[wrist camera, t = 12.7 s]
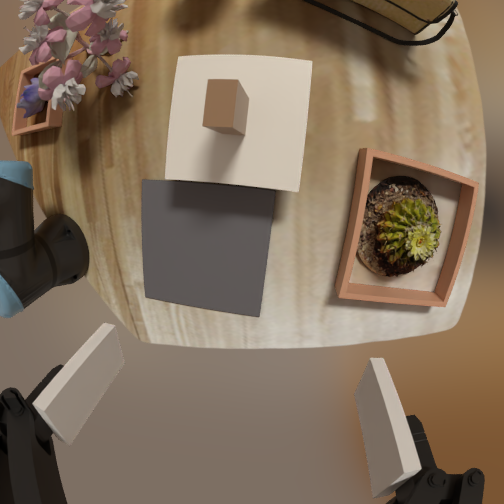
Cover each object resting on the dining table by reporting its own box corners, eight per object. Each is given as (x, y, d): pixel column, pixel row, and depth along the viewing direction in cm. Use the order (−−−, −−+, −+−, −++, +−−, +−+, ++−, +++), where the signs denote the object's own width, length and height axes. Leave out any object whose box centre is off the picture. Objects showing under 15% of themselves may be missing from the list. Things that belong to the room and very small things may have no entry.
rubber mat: (146, 295, 50) (145, 296, 49) (143, 179, 42) (142, 179, 42) (259, 315, 48) (259, 316, 48) (275, 190, 41) (275, 190, 40)
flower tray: (23, 135, 41) (11, 135, 37) (32, 72, 35) (21, 70, 32) (61, 126, 40) (48, 126, 36) (73, 56, 34) (61, 52, 31)
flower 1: (50, 67, 30) (9, 87, 27) (57, 106, 36) (17, 124, 33) (62, 65, 36) (25, 82, 33) (67, 99, 42) (31, 114, 39)
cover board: (166, 178, 36) (132, 186, 27) (180, 57, 30) (150, 33, 21) (298, 191, 34) (304, 203, 25) (311, 62, 28) (321, 33, 19)
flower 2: (49, 125, 38) (-14, 130, 17) (59, 29, 29) (15, -15, 8) (140, 111, 45) (127, 96, 24) (149, 14, 35) (152, -49, 14)
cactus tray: (334, 286, 45) (338, 297, 41) (359, 148, 37) (367, 147, 33) (436, 297, 43) (445, 307, 39) (466, 180, 35) (478, 182, 32)
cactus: (372, 160, 37) (396, 162, 28) (447, 196, 37) (479, 207, 28) (338, 260, 43) (351, 287, 34) (413, 283, 43) (436, 310, 34)
